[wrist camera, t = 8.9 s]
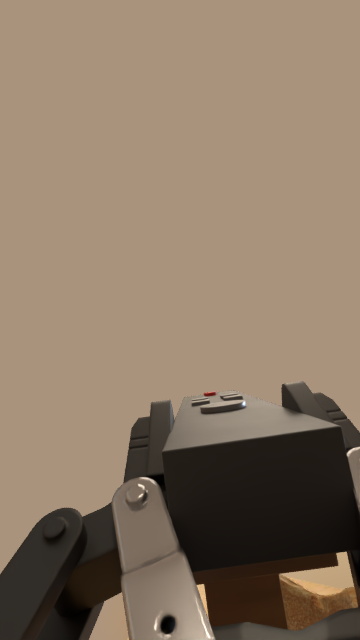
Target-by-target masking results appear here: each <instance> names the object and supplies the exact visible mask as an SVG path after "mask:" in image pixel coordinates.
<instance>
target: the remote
mask: <svg viewBox="0 0 360 640" xmlns="http://www.w3.org/2000/svg"><path fill="white" fill-rule="evenodd" d="M161 454H162V462H163V470H164V478H165V486H166V494H167V502H168V509H169V515H170V518H171V521H172V524H173V527H174V530H175V533H176V536H177V539H178V542H179V544H180V547H181V548H183V550H184V552H185V554H186V557H187V560H188V563H189V566H190V568H191V571H192V573H194V572H201V571H209V570H216V569H223V568H230V567H238V566H245V565H252V564H259V563H267V562H274V561H281V560H288V559H296V558H303V557H310V556H318V555H325V554H332V553H339V552H347V551H354V550H360V532H359V528H358V524H357V521H356V517H355V509H354V497H353V489H354V483H353V478H352V474H351V469H350V465H349V460H348V456H347V451H346V446H345V442H344V437H343V433H342V428H341V426H339V425H336V424H333V423H330V422H327V421H324V420H321V419H318V418H315V417H312V416H309V415H306V414H303V413H300V412H297V411H294V410H291V409H288V408H285V407H282V406H279V405H276V404H273V403H270V402H267V401H264V400H261V399H258V398H255V397H252V396H249V395H246V394H243V393H240V392H238V391H235V390H233V391H225V392H218V393H217V391H214V392H207V393H204V395H198V396H191V397H185V398H184V399H183V402H182V404H181V406H180V409H179V411H178V414H177V416H176V418H175V422H174V425H173V428H172V430H171V433H169V435H168V438H167V440H166V443H165V445H164V447H163V450H162V453H161Z"/></svg>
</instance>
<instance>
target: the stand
mask: <svg viewBox="0 0 360 640" xmlns="http://www.w3.org/2000/svg"><path fill="white" fill-rule="evenodd" d="M334 566H338V560H337V555H336V553H332V554H325V555H318V556H310V557H303V558H296V559H288V560H281V561H274V562H267V563H259V564H252V565H245V566H238V567H230V568H223V569H216V570H209V571H201V572H194V573H192V574H193V577H194V580H195V583H196V585H199V584H204V586H205V594H206V601H207V608H208V616H209V623H210V625H211V627H214V626H221V625H229V624H236V623H244V622H250V623H255V624H261V625H266V626H272V627H277V628H283V629H288V624H287V618H286V613H285V607H284V601H283V595H282V589H281V583H280V578H279V574H281V573H289V572H296V571H304V570H311V569H319V568H326V567H334Z"/></svg>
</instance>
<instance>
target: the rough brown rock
mask: <svg viewBox="0 0 360 640" xmlns="http://www.w3.org/2000/svg"><path fill="white" fill-rule="evenodd" d="M279 578H280V583H281V589H282V595H283V601H284V607H285V613H286V618H287V624H288V629H289V630H295V631H298V630H302V629H304V628H306V627H308V626H310V625H312V624H314V623H316V622H318V621H320V620H322V619H324V618H326V617H328V616H330V615H331V614H333V613H335V612H337V611H339V610H342V609H349V608H357V607H358V604H357V597H356V592H355V588H354V587H351V588H346V589H344V590H343V591H342V592H340V593H336V594H332V595H327V596H324V595H318V594H317V593H315V592H312V591H310V590H308V589H305V588H304V587H302V586H301V585H299V584H298V583H297V582H295V581H293V580H291V579H289V578H287V577H285V576H283V575H281V574H279Z"/></svg>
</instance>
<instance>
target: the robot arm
mask: <svg viewBox="0 0 360 640" xmlns="http://www.w3.org/2000/svg"><path fill="white" fill-rule="evenodd" d="M282 407H285V408H288V409H291V410H294V411H297V412H300V413H303V414H306V415H309V416H312V417H315V418H318V419H321V420H324V421H327V422H330V423H333V424H336V425H339V426H341V428H342V433H343V437H344V442H345V446H346V451H347V456H348V460H349V465H350V469H351V474H352V478H353V483H354V489H353V497H354V509H355V517H356V521H357V524H358V528H359V532H360V433H359V431H358V430H357V429H356V427H355V426H354V425H353V424H352V423H351V421H350V420H349V419H347V417H346V415H345V414H344V413H343V412H342V411H341V409H340V408H339V407H338V406H337V404H336V403H335V402H334V401H333V400H332V399H330V398H329V397H327V396H325V395H324V394H322V393H314V394H313V393H312V392H311V391H310V389H309V388H308V387H307V385H306V384H305V383H304V382H303V381H300V382H294V383H287V384H282ZM174 422H175V421H174V415H173V410H172V404H171V400H165V401H158V402H152V403H151V411H150V417H143V418H138V420H137V422H136V423H135V424H134V426H133V427H132V430H131V436H130V443H129V450H128V456H127V463H126V469H125V476H124V482H123V485H121V486H120V487H119V488H118V489H117V491H116V492H115V494H114V496H113V499H112V502H111V503H109V504H108V505H107V506H105V507H103V508H101V509H99V510H97V511H95V512H93V513H90V514H88V515H86V516H83V517H82V516H81V514H80V513H79V512H78V511H77V510H75V509H73V508H61V509H57V510H55V511H53V512H51V513H49V514H47V515H46V516H44V517H43V518H42V519H41V520H40V521H39V522H38V523H37V524H36V525H35V527H34V528H33V529H32V531H31V532H30V533H29V535H28V536H27V538H26V539H25V540H24V542H23V543H22V545H21V546H20V547H19V549H18V550H17V552H16V553H15V554H14V556H13V557H12V559H11V560H10V562H9V563H8V564H7V566H6V567H5V568H4V570H3V571H2V573H1V574H0V640H89V638H90V635H91V633H92V630H93V628H94V626H95V623H96V621H97V618H98V616H99V613H100V611H101V609H102V606H103V603H104V601H106V600H107V599H109V598H111V597H113V596H115V595H117V594H119V593H121V592H122V594H123V601H124V608H125V615H126V621H127V627H128V635H129V640H360V550H354V551H347V555H348V560H349V564H350V569H351V574H352V578H353V583H354V588H355V592H356V597H357V604H358V607H357V608H349V609H342V610H339V611H337V612H335V613H333V614H331V615H330V616H328V617H326V618H324V619H322V620H320V621H318V622H316V623H314V624H312V625H310V626H308V627H306V628H304V629H302V630H298V631H295V630H289V629H283V628H277V627H272V626H266V625H261V624H255V623H250V622H244V623H236V624H229V625H221V626H214V627H211V625H210V623H209V620H208V617H207V614H206V611H205V608H204V605H203V603H202V600H201V597H200V594H199V591H198V588H197V585H196V583H195V580H194V577H193V574H192V571H191V568H190V566H189V563H188V560H187V557H186V554H185V552H184V550H183V548H181V547H180V544H179V542H178V539H177V536H176V533H175V530H174V527H173V524H172V521H171V518H170V515H169V509H168V502H167V494H166V486H165V478H164V470H163V462H162V454H161V453H162V450H163V447H164V445H165V443H166V440H167V438H168V435H169V433H171V430H172V428H173V425H174Z"/></svg>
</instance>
